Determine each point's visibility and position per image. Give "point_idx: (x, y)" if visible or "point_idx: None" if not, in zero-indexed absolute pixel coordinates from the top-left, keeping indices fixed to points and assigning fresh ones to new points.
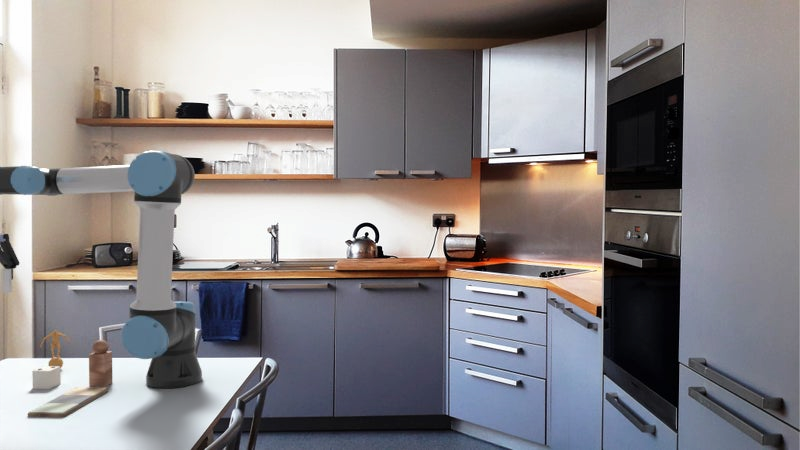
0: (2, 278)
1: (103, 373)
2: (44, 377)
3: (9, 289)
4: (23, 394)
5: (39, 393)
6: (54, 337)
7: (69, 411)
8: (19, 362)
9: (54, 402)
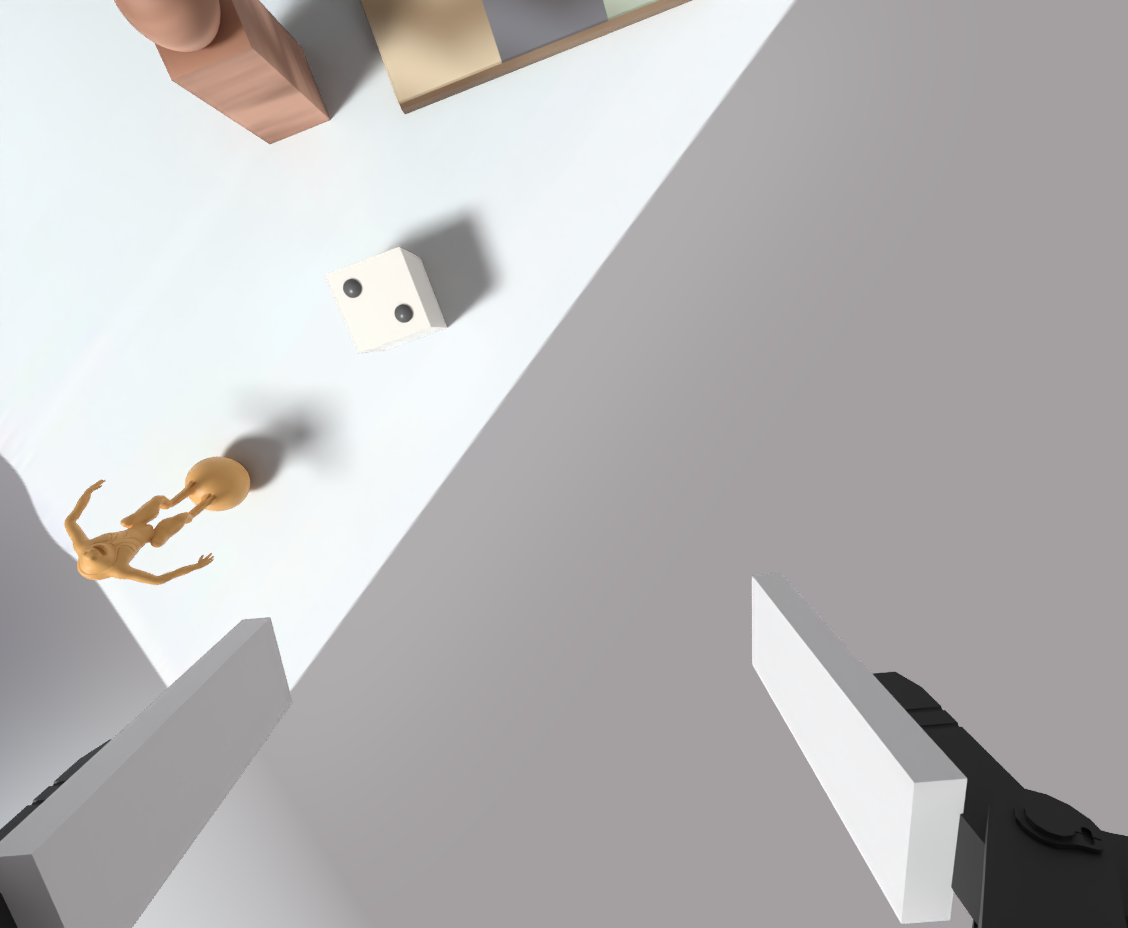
0: (197, 818)
1: (271, 16)
2: (418, 275)
3: (253, 633)
4: (516, 286)
5: (483, 237)
6: (125, 541)
7: None
8: None
9: None
